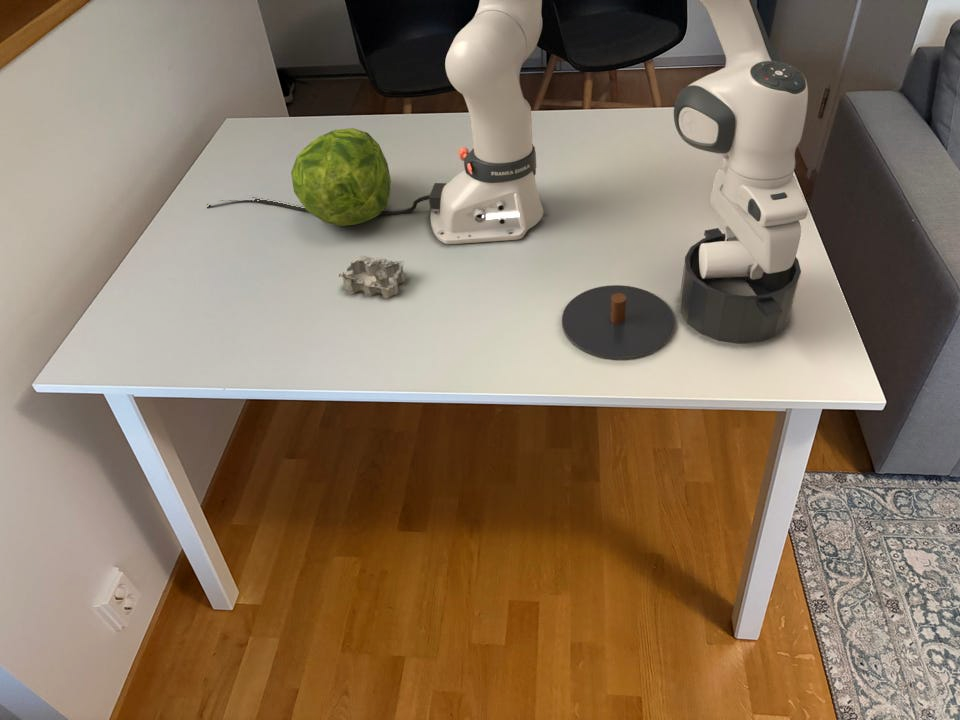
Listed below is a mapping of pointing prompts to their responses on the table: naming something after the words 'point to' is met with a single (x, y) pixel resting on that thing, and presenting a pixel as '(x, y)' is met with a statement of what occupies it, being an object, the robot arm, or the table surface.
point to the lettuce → (342, 177)
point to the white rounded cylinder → (724, 259)
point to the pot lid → (618, 322)
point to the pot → (736, 301)
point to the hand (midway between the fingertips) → (742, 261)
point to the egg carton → (373, 276)
